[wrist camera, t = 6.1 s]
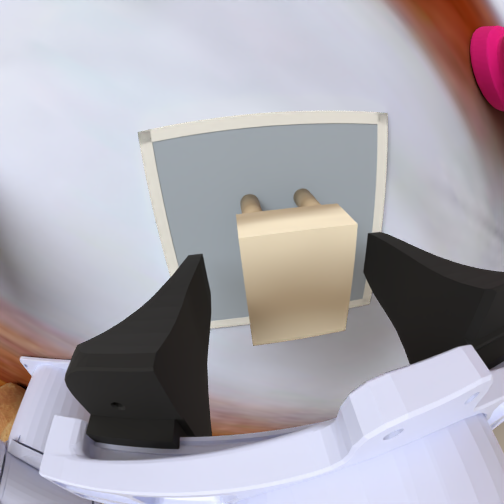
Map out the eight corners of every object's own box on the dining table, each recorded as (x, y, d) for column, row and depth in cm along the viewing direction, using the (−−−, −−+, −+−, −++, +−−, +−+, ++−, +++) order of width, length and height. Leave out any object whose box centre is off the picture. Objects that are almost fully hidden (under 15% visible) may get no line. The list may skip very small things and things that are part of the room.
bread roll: (55, 393, 22) (36, 454, 15) (74, 439, 28) (65, 484, 22) (-11, 361, 20) (-35, 413, 13) (20, 416, 26) (7, 457, 19)
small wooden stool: (233, 190, 13) (238, 237, 9) (315, 182, 14) (357, 223, 9) (244, 278, 16) (253, 345, 12) (315, 268, 16) (345, 330, 12)
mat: (367, 300, 18) (369, 304, 18) (187, 325, 18) (187, 330, 17) (383, 112, 12) (387, 113, 12) (140, 131, 12) (137, 132, 11)
